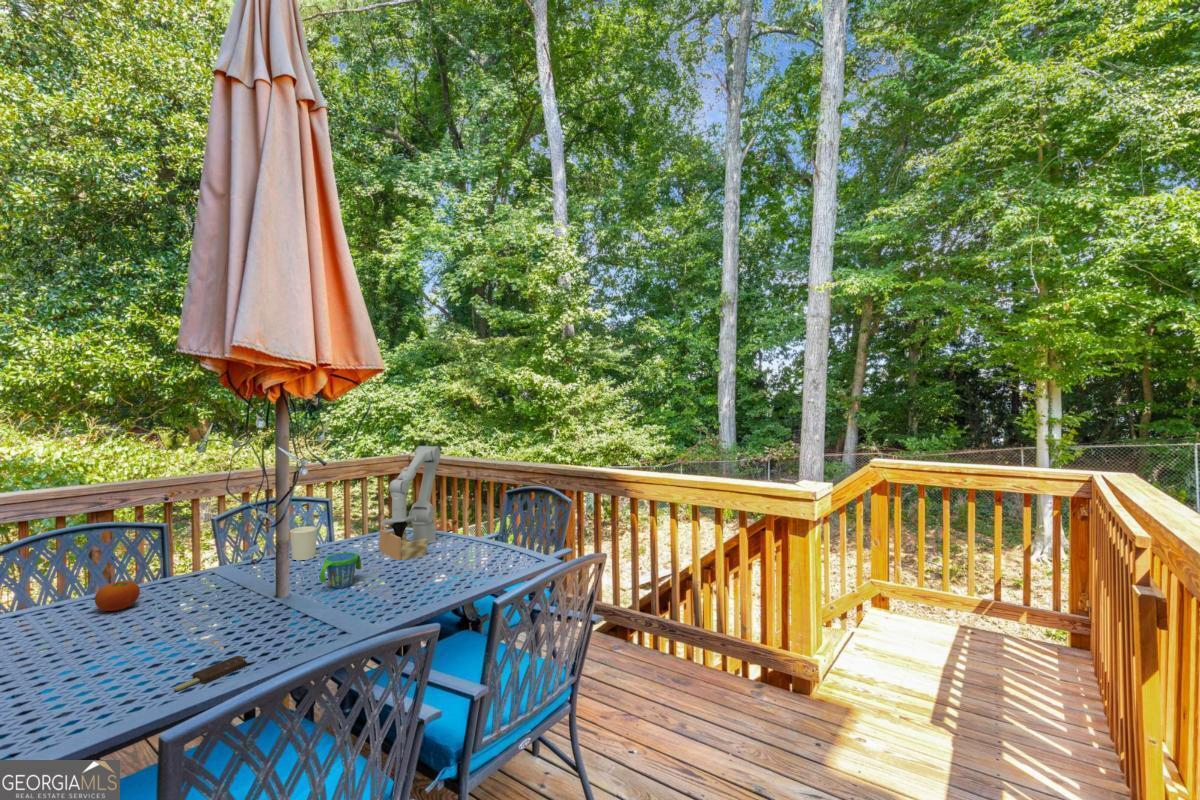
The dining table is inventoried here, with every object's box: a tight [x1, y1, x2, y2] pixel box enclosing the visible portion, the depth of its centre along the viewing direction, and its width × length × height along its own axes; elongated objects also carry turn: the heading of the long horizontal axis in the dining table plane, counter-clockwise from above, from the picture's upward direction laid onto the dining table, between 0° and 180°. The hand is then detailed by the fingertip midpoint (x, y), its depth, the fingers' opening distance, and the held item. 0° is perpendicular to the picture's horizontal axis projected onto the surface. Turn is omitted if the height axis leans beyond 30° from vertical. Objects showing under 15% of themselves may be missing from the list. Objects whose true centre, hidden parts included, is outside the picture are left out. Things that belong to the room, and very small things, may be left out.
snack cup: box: [319, 551, 362, 589], centre depth 186 cm, size 16×10×10 cm
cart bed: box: [389, 529, 429, 561], centre depth 224 cm, size 10×21×7 cm, turn 45°
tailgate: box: [379, 529, 402, 561], centre depth 220 cm, size 1×18×9 cm, turn 46°
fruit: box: [94, 580, 141, 612], centre depth 164 cm, size 11×10×8 cm
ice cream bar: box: [173, 655, 248, 692], centre depth 126 cm, size 5×2×15 cm
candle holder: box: [289, 525, 318, 560], centre depth 215 cm, size 10×10×12 cm
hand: (399, 540), depth 222 cm, fingers closed
